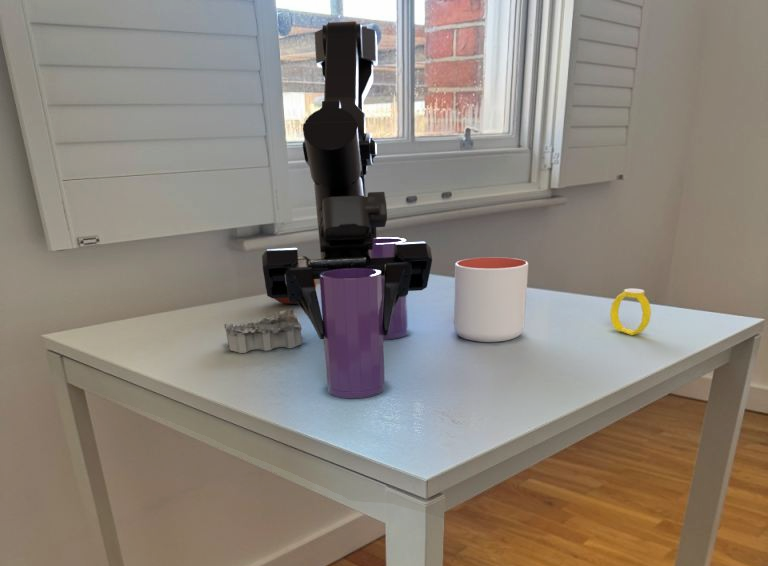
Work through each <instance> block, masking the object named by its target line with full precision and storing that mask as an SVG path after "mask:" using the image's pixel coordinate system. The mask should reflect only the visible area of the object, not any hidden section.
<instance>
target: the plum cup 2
mask: <svg viewBox="0 0 768 566" xmlns="http://www.w3.org/2000/svg"><path fill="white" fill-rule="evenodd" d="M406 242H407V239H405V238H400V237H377V238H373V249H372V250H370V252H371V258H384V257H393V254H394V245H395V243H406ZM381 282H382V314H383V287H384V277H381ZM407 335H408V295H407V296H404V297H399V299H398V301H397V304H396V306H395V308H394V311H393V314H392V318H391V322H390V326H389V331H388V335H387V336H384V333H383V341H384V340H385V341H386V340H395V339H400V338H403V337H405V336H407Z"/></svg>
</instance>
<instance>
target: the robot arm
mask: <svg viewBox="0 0 768 566" xmlns="http://www.w3.org/2000/svg"><path fill="white" fill-rule="evenodd" d="M313 35H314V50H315V64H316V65H317V67H318V68H321V71H322V77H323V79H324V90H323V91H324V94H323V100H322V101H321V107H320V108H319V109H318V110H316V111H313V112H312V113H311V114H310V115H309V116H308V117H307V118H306V119H305V121H304V123H303V124H302V132H303V133H302V134H303V139H304V140H303V142H302V151H303V157H304V161H305V163H306V164H307V165H308V167H309V171H310V177H311V179H312V181H313V183H314V197H315V207H316V220H317V229H318V230H317V231H318V239H319V240H318V241H319V251H320V258H314V259H313V258H312V259H311V258H308V257H307V256H305V255H298V253H299V252H298V247H287V248H286V247H285V248H267V249H265V251H264V253H262V255H261V261H262V262H261V263H262V264H261V265H262V272H263V278H264V286H265V285H266V286H265V291H266V296H267V297H268V298H271V299H274V298H288V300H289V302H291V303H297V305H298V306H299V307H300V308H301V309H302V311H303V312H304V314H306V316H307V317H308V319H309V321H310V323H311V325H312V326H313V328H314V330H315V332H316V334H317V336H318V337H319V339H320V340H324V328H323V318H322V310H321V307H320V303H319V299H318V293H317V289H315V284H314V279H316V280H320V273H322V272H324V271H328V270H333V269H342V268H370V269H377V270H379V271H381V277H384V287H383V314H382V315H383V333H384V336H387V335H388V331H389V326H390V322H391V318H392V314H393V311H394V308H395V306H396V304H397V301H398V299H399V297H404V296H407V297H408V295H409V292H416V291H417V292H418V291H423V290H425V289H427V288H428V283H429V278H430V274H431V269H432V265H433V255H432V248H431V247H430V245H428V243H427V242H425V241H410V242H409V241H406V243H395V245H394V254H393V257H384V258H371V252H370V250H372V249H373V238H378V229H377V228H385V227H386V225H387V221H388V209H387V207H388V206H387V200H386V199H387V198H386V193H385V191H369V192H367V187H366V186H367V184H366V183H367V182H366V181H367V179H366V175H367V173H368V167H369V166H373V164H374V163H375V158H376V157H377V155H378V150H377V149H378V146H377V142H375V141H374V138H373V137H372V133H371V132H367V127H366V115H365V111H364V101H365V99H366V97H367V95H368V93H369V92H370V89H371V87H372V85H373V83H374V66H378V38H377V32H376V30H375V29H371V28H369V26H368V25H363V26H362V23H357V21H334V22H333V21H331V22H327V23H326V24H322V29H319V30H317V31H315V32H313Z"/></svg>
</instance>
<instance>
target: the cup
mask: <svg viewBox="0 0 768 566" xmlns="http://www.w3.org/2000/svg"><path fill="white" fill-rule="evenodd" d="M528 275H529V262H528V261H526V260H525V259H524V260H523V259H520V258H516V257H515V258H514V257H502V256H501V257H499V256H496V257H495V256H494V257H491V256H489V257H488V256H487V257H474V258H473V257H472V258H466V259H461V260H458V261H456V262H455V263H454V299H453V300H454V304H453V307H454V310H453V329H454V331H455V333H456V334H457V335H458V336H459V337H461V338H462V339H465V340H468V341H472V342H482V343H497V342H499V343H500V342H505V341H511V340H513V339H515V338H518V337H519V336H520V335H521V334H522V333H523V331H524V329H525V323H526V310H527V309H526V307H527V294H528V293H527V292H528V277H529V276H528Z"/></svg>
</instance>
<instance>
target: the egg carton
mask: <svg viewBox="0 0 768 566" xmlns="http://www.w3.org/2000/svg"><path fill="white" fill-rule="evenodd" d="M224 329H225V332H226V339H227V340H226V341H227V345H228V348H229V351H231V352H235V353H239V354H246V353H248V352H250V351H254V350H255V351H256V350H260V351H261V350H262V351H265V352H268V351H271V350H273V349H276V348H287V349H294V348H296V347H298V346H302V344H303V338H302V329H303V327H302V325H301V323H300V322H299V320H298V317H297V315H296V313H295V312H294V309H293V308H292V309H284V310H279V311H277V312H273V314H272V316H271V317H262V318H261V319H259V320H256V321H247V322H241V323H240V324H235V325H233V323H231V324H227V323H224Z"/></svg>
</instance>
